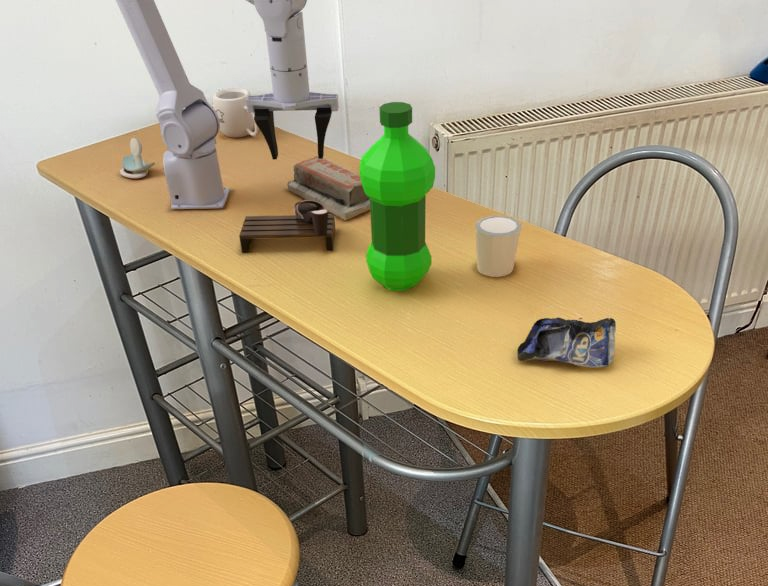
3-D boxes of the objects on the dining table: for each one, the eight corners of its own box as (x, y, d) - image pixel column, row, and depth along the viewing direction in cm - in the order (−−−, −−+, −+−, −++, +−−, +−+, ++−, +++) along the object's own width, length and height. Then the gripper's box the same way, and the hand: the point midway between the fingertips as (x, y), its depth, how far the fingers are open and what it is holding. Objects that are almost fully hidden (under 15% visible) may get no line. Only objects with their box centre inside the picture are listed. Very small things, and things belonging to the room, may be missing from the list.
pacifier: (137, 183, 147) (161, 172, 150) (127, 150, 142) (152, 139, 145) (114, 174, 150) (138, 163, 153) (103, 142, 145) (128, 131, 148)
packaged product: (282, 164, 138) (326, 149, 143) (285, 191, 142) (328, 175, 146) (343, 194, 128) (388, 177, 133) (345, 222, 132) (389, 205, 136)
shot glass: (521, 260, 121) (525, 217, 116) (512, 281, 116) (516, 237, 111) (479, 254, 122) (481, 212, 117) (468, 275, 118) (470, 232, 113)
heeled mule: (315, 207, 130) (313, 184, 127) (338, 234, 122) (337, 210, 120) (290, 212, 128) (288, 190, 126) (312, 240, 121) (310, 216, 118)
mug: (210, 134, 163) (202, 94, 158) (241, 123, 167) (235, 84, 162) (243, 148, 157) (237, 107, 151) (275, 136, 161) (270, 96, 155)
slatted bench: (242, 252, 125) (239, 235, 123) (248, 233, 130) (245, 216, 128) (332, 251, 125) (331, 233, 123) (335, 231, 130) (334, 214, 128)
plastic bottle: (423, 262, 121) (424, 90, 103) (438, 296, 114) (442, 117, 96) (361, 269, 120) (351, 97, 102) (372, 303, 113) (363, 125, 95)
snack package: (563, 394, 96) (628, 359, 101) (563, 348, 92) (630, 314, 97) (500, 365, 105) (562, 333, 109) (497, 321, 101) (561, 291, 105)
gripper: (237, 75, 115) (251, 167, 125) (333, 73, 114) (339, 165, 124) (245, 60, 120) (257, 150, 130) (336, 59, 119) (342, 149, 129)
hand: (298, 156), depth 127 cm, fingers open, 7 cm apart
